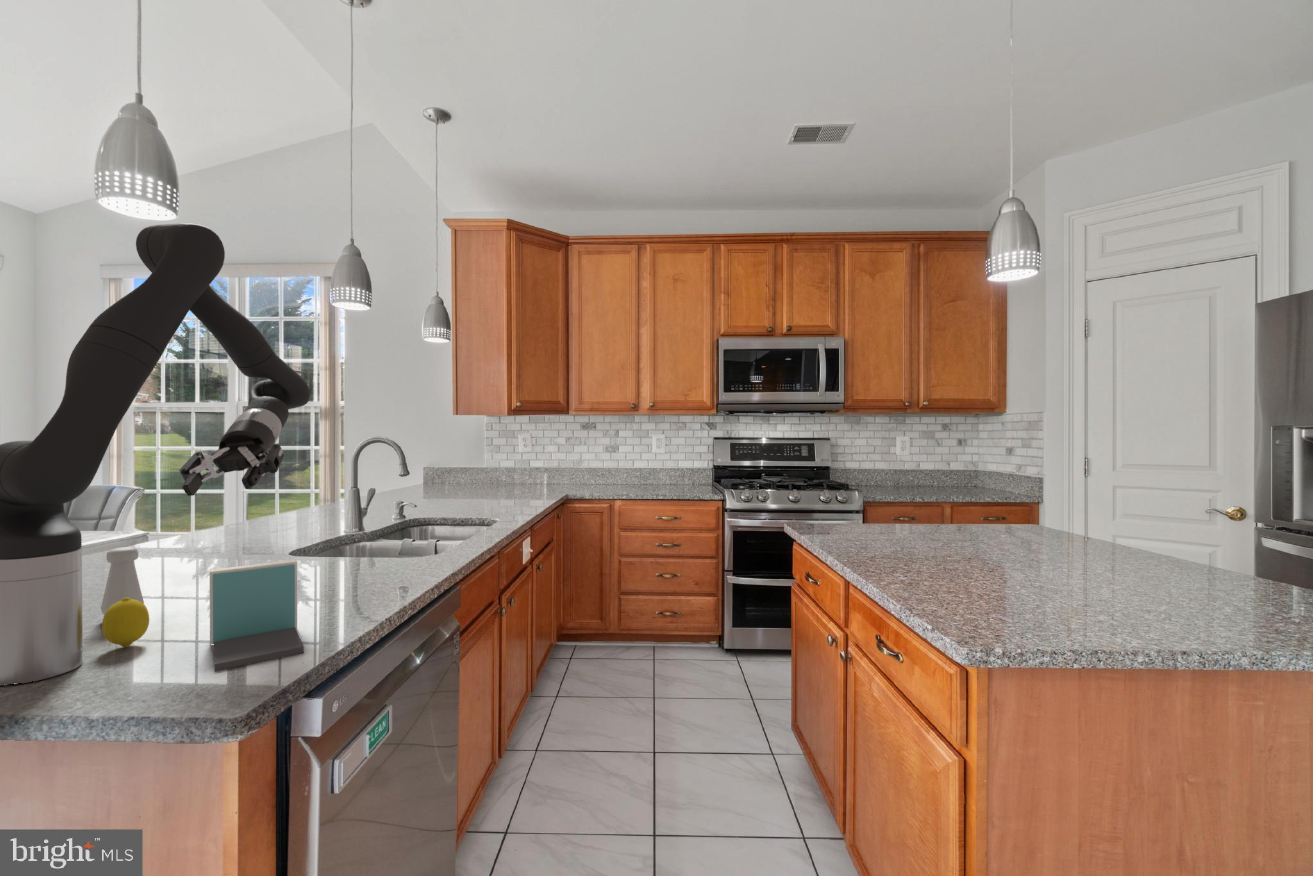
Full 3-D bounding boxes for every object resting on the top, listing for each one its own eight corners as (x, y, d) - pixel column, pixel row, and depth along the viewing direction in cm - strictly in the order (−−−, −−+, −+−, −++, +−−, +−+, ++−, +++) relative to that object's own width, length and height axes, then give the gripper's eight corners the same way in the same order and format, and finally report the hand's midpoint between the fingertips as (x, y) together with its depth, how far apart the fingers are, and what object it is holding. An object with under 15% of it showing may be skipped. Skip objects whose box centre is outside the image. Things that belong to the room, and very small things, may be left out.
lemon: (120, 655, 87) (120, 603, 87) (92, 652, 89) (92, 601, 88) (158, 642, 93) (158, 593, 93) (131, 639, 94) (131, 591, 94)
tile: (210, 646, 91) (209, 572, 91) (209, 642, 93) (209, 569, 93) (297, 630, 99) (297, 562, 99) (295, 626, 101) (295, 559, 100)
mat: (214, 671, 82) (214, 664, 82) (214, 648, 91) (214, 641, 91) (303, 652, 89) (303, 646, 89) (295, 632, 97) (295, 627, 97)
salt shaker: (134, 621, 103) (134, 550, 103) (94, 625, 101) (93, 552, 100) (149, 612, 108) (149, 544, 108) (111, 615, 106) (110, 546, 106)
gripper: (201, 422, 103) (157, 475, 90) (287, 414, 106) (256, 464, 93) (218, 456, 107) (178, 511, 94) (300, 447, 110) (273, 500, 97)
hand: (217, 488), depth 93 cm, fingers open, 8 cm apart
